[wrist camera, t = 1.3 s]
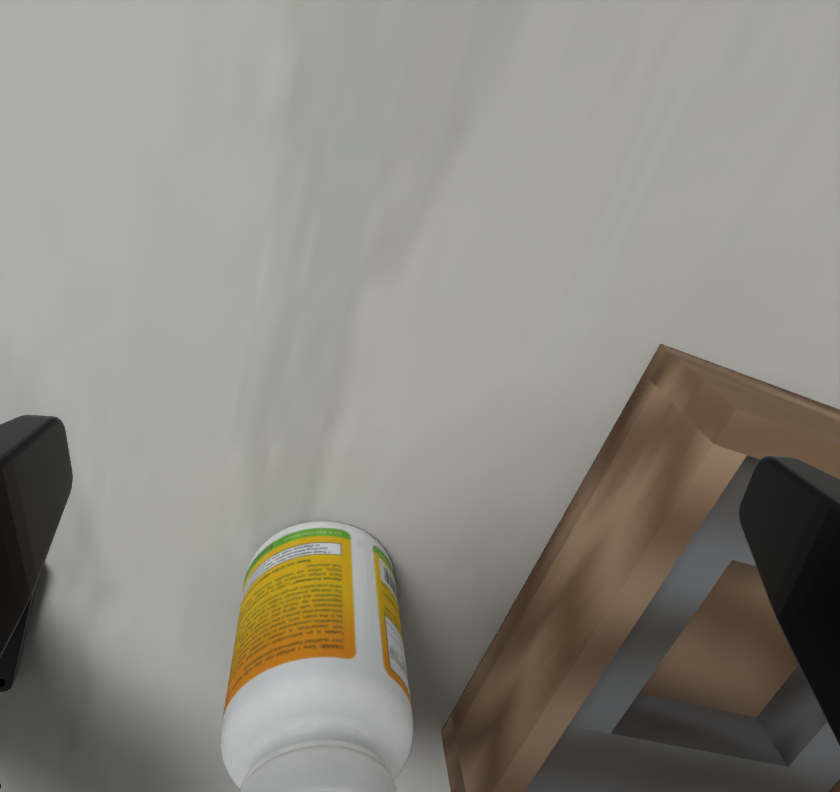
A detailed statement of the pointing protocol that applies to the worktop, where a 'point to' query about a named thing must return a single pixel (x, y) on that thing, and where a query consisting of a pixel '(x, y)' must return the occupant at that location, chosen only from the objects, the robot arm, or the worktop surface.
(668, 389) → the tray
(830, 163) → the worktop surface
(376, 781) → the supplement bottle
